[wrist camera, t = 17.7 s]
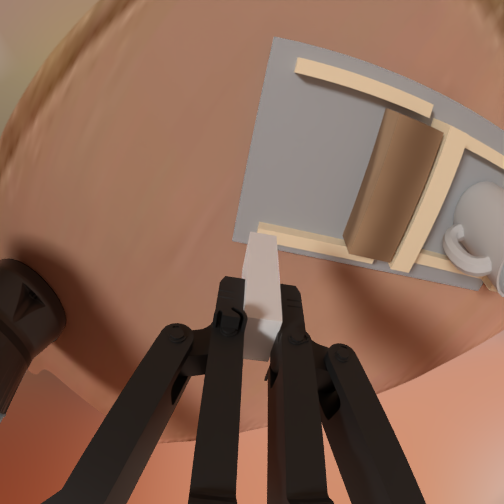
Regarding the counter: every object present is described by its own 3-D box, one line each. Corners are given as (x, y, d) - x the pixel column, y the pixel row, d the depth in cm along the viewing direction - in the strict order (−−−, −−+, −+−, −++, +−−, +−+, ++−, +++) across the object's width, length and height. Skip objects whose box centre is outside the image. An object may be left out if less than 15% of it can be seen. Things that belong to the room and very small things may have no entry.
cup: (501, 232, 25) (545, 283, 18) (429, 257, 28) (464, 319, 20) (503, 172, 22) (559, 215, 14) (424, 195, 24) (473, 250, 17)
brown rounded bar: (342, 235, 27) (348, 253, 25) (385, 107, 20) (399, 113, 18) (380, 244, 27) (389, 262, 25) (426, 124, 21) (443, 132, 18)
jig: (233, 234, 29) (227, 259, 26) (273, 38, 19) (274, 31, 16) (474, 284, 31) (488, 307, 27) (536, 156, 21) (559, 170, 17)
